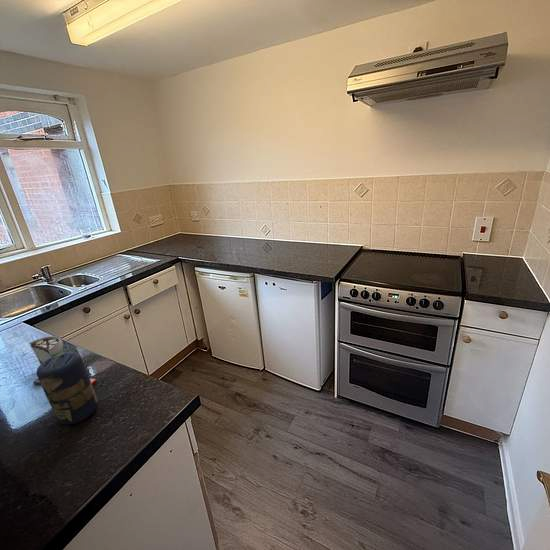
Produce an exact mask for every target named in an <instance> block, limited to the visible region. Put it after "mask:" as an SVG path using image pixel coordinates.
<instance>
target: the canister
mask: <svg viewBox="0 0 550 550" xmlns="http://www.w3.org/2000/svg"><path fill="white" fill-rule="evenodd" d="M35 374H36V376H37V377H36V378H37V379H39V381H40V384H41V385H40V386H41V388H42V390H43V392H44V394H45V397H46V399H47V401H48V403H49V406H50V407H51V409H52V411H53V413H54V416H55V418H56V420H57V422H58V423H60V424H62V425H65V426H68V425H69V426H70V425H74V424H78V423H80V422H82V421H84V420H86V419H87V418H89V417H90V416H91V415H92V414H93V413H94V412H95V411H96V409H97V408H98V405H99V400H98V397H97V394H96V392H95V389H94V386H93V385H92V384H91V381H90V379H91V378H90V376H89V373H88V372H87V369H86V366H85V364H84V361H83V359H82V357H81V354H79V353H78V352H75V351H67V352H64V353H61V354H58V355H55V356H53V357H51V358H49V359H47V360H46V361H44V362H43V363H42V364H39V365H38V367H37V369H36V373H35Z"/></svg>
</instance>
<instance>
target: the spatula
mask: <svg viewBox="0 0 550 550" xmlns="http://www.w3.org/2000/svg"><path fill="white" fill-rule="evenodd" d="M89 379H90V381H91V384H92V386H93V385H94V384H95V383H96V382H97V378H89ZM32 384H33V386H41V384H40V381H39V379H38V378H36V379H35V380H33V381H32Z"/></svg>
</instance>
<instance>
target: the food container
mask: <svg viewBox="0 0 550 550" xmlns="http://www.w3.org/2000/svg"><path fill="white" fill-rule="evenodd" d="M29 346H30V348H31V349H32V350H33V351H32V352H34V355H35V356H36V358H37V360H38V362H39V365H41V364H42V363H43V362H44V361H46V360H47V359H49V358H51V357H53V356H55V355H58V354H61V353H65V352H64V349H63V347H64V342H63V341H62V340H61V339H60V338H59V337H58V336H45V337H42V338H38V339H35V340H33V341H30V342H29Z"/></svg>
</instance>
